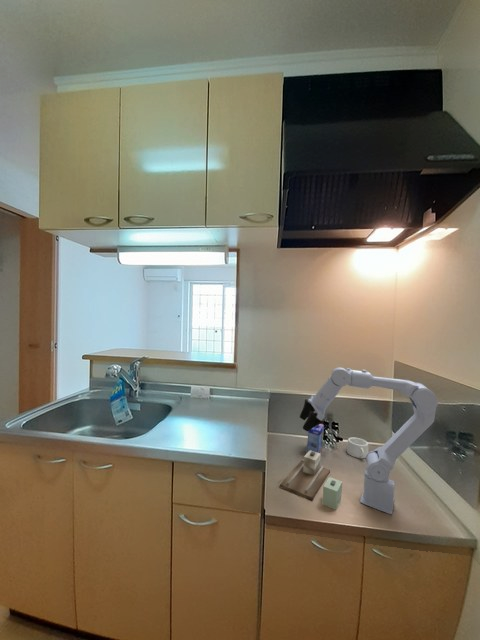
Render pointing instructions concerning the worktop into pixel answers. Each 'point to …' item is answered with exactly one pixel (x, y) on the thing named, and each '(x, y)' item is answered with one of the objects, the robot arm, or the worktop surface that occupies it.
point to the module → (332, 493)
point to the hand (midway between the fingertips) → (303, 423)
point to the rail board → (306, 476)
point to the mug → (357, 447)
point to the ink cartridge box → (315, 439)
